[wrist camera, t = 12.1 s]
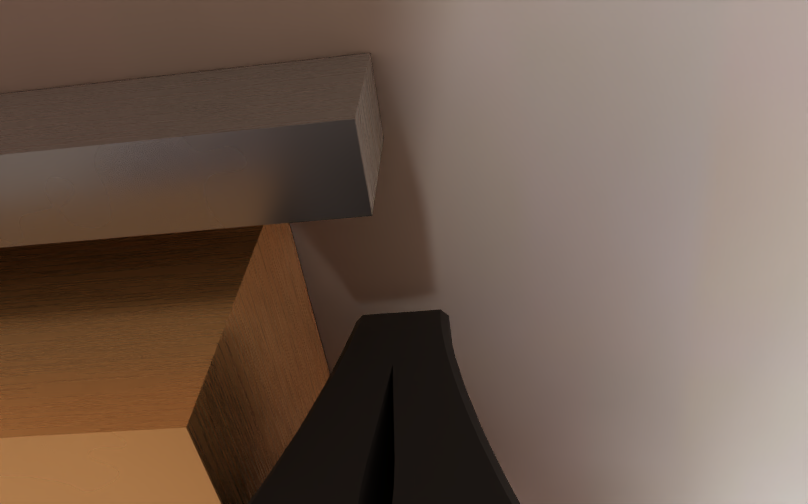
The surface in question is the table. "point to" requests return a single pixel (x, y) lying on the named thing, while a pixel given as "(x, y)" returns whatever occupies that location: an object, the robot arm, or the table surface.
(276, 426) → the block
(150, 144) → the guide channel
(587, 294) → the table surface
